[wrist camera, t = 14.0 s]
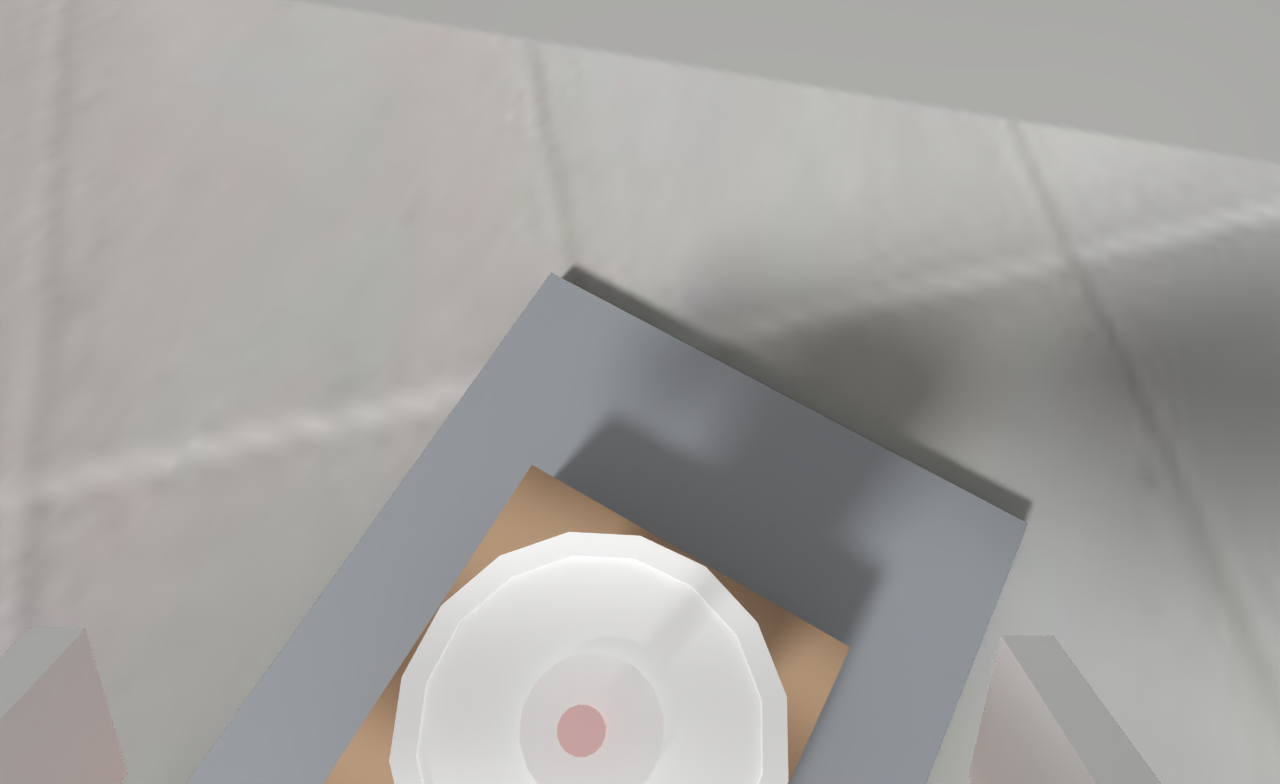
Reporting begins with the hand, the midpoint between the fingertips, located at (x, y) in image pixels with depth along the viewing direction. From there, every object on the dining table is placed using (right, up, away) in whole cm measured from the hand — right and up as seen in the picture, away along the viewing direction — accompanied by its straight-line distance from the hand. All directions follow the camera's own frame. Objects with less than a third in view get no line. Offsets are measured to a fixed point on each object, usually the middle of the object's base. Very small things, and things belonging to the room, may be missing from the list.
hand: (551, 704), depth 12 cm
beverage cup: (0, -4, +9) cm, 10 cm away
